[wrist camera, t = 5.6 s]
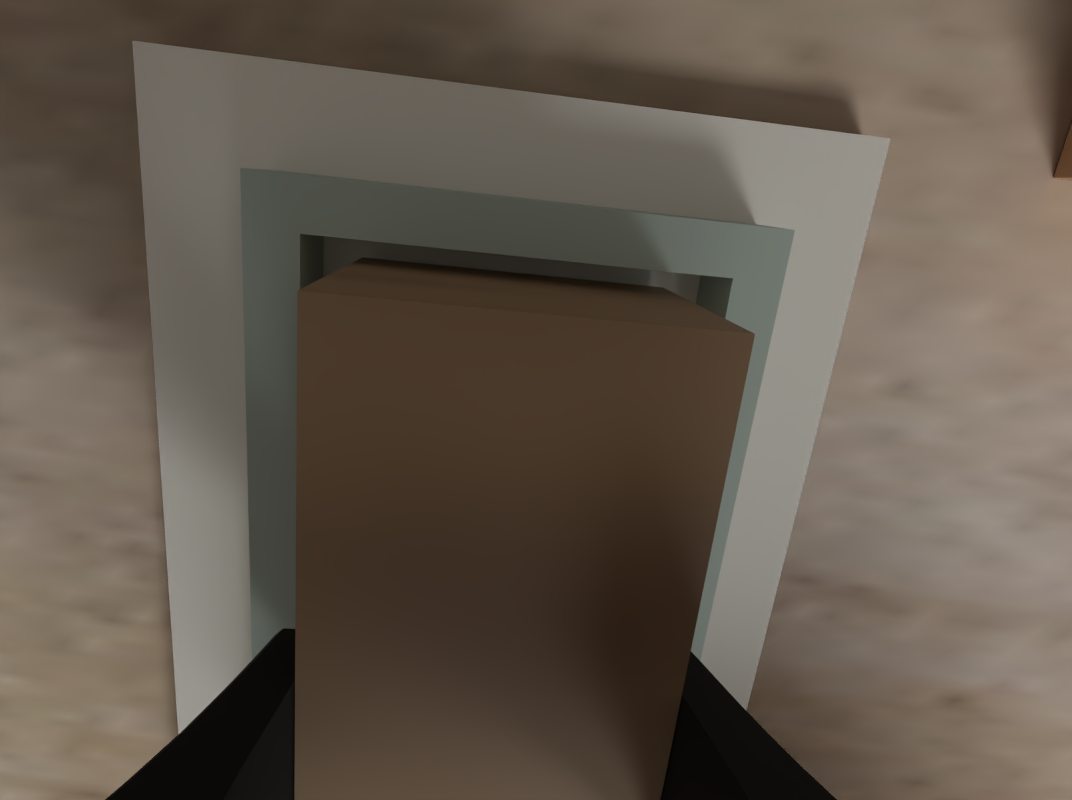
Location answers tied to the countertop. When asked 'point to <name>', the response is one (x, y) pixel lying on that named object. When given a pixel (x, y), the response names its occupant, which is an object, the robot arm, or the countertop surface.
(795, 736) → the countertop surface
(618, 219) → the cradle
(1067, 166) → the tan square block
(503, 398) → the tan box sleeve
